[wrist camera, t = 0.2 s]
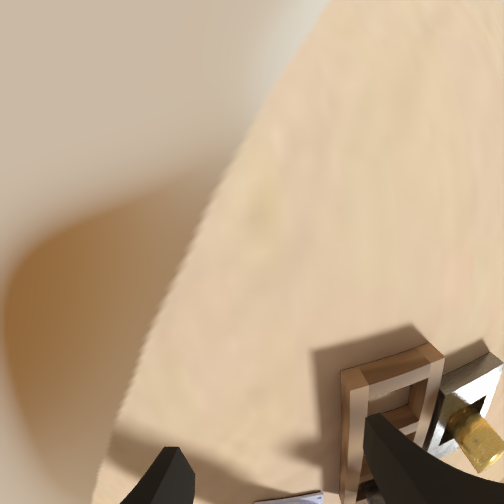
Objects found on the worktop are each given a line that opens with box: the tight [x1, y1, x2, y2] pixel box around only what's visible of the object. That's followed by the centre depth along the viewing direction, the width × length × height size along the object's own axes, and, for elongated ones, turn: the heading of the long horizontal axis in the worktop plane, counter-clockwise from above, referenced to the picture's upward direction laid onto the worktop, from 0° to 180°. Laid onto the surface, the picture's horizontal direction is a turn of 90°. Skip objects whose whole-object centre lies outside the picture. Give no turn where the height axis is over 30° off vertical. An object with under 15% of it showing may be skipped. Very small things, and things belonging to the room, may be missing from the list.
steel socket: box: [422, 352, 504, 459], centre depth 20 cm, size 12×8×2 cm, turn 10°
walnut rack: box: [339, 343, 445, 504], centre depth 21 cm, size 21×8×2 cm, turn 10°
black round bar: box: [361, 479, 386, 504], centre depth 19 cm, size 4×4×9 cm
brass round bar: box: [446, 404, 504, 473], centre depth 17 cm, size 4×4×9 cm
